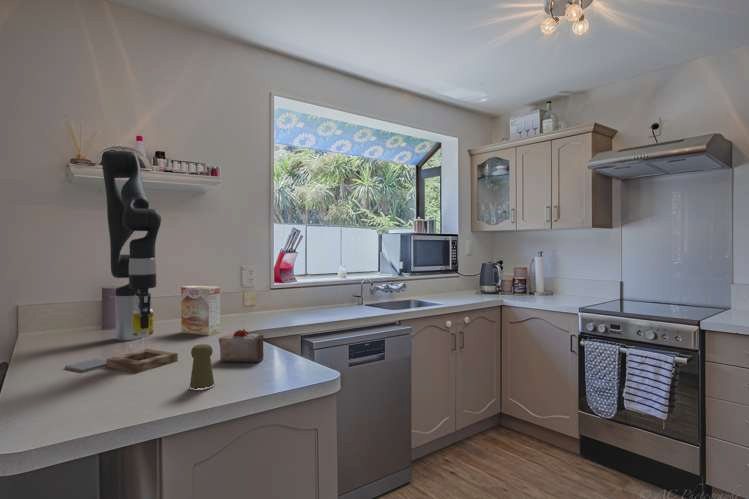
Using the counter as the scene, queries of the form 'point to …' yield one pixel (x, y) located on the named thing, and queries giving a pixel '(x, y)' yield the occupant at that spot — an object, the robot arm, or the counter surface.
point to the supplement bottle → (136, 324)
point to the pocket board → (141, 360)
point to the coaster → (87, 365)
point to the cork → (201, 367)
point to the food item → (241, 347)
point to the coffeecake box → (200, 310)
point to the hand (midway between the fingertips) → (143, 326)
